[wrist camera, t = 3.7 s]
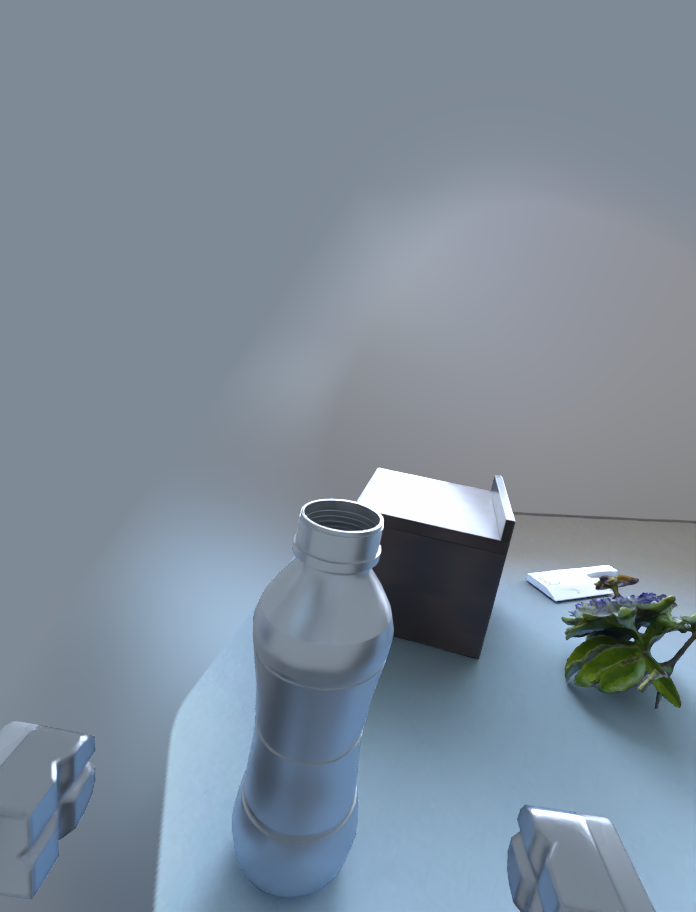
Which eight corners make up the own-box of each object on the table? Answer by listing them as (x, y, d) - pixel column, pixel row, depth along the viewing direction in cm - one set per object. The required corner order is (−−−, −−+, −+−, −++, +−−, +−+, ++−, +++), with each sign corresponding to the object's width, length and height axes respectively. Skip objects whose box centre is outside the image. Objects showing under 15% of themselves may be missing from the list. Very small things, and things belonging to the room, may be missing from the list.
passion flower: (577, 692, 49) (634, 595, 51) (687, 767, 40) (752, 644, 41) (516, 646, 45) (580, 542, 47) (622, 717, 35) (699, 582, 37)
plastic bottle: (373, 879, 25) (451, 539, 20) (251, 952, 22) (306, 561, 16) (317, 775, 30) (367, 484, 25) (212, 820, 27) (243, 491, 21)
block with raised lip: (334, 619, 46) (356, 486, 43) (362, 557, 60) (380, 451, 56) (478, 659, 44) (515, 521, 40) (474, 585, 57) (501, 476, 53)
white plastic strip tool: (638, 590, 62) (641, 583, 62) (554, 602, 56) (557, 594, 56) (605, 569, 66) (608, 562, 66) (524, 578, 60) (526, 571, 60)
